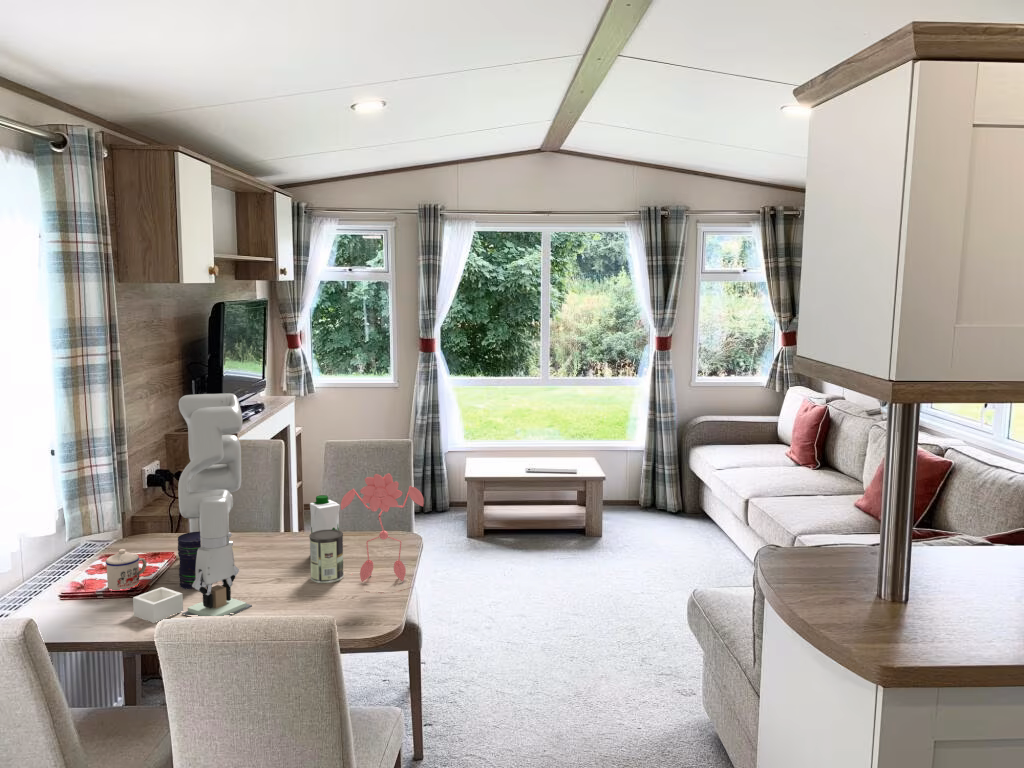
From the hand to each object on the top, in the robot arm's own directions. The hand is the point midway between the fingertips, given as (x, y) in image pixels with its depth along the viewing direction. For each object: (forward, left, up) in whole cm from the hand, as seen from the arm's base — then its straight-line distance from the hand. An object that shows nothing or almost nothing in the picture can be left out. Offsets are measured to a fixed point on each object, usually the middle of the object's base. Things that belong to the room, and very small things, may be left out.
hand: (217, 602), depth 218 cm
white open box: (+10, -12, -3) cm, 16 cm away
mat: (0, 0, -2) cm, 2 cm away
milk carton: (-50, -7, -2) cm, 51 cm away
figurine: (-40, +26, -2) cm, 48 cm away
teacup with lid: (+2, -38, -2) cm, 38 cm away
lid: (0, 0, -2) cm, 2 cm away
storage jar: (-10, -22, -3) cm, 24 cm away
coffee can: (-35, +8, -3) cm, 36 cm away
